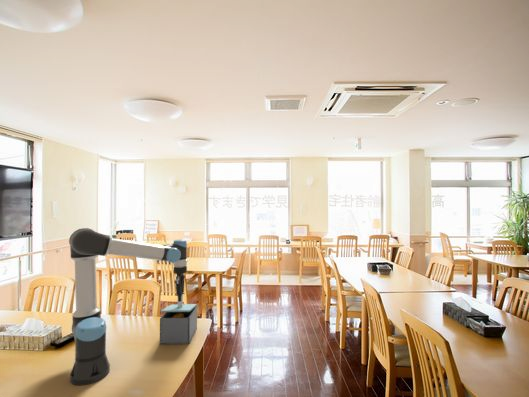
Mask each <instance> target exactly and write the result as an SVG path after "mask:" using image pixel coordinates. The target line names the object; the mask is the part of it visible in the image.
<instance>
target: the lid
mask: <svg viewBox="0 0 529 397" xmlns="http://www.w3.org/2000/svg"><path fill="white" fill-rule="evenodd" d="M196 306H197V307H198V303H185V304H184V303H183V306H182V307H178V303H176V304H173V303H172V304H170V305H168V306H166V307H164V308H163V309H161V310H160V313H165V312H190V311H191V310H192V309H193V308H194V307H196Z"/></svg>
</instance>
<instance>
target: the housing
mask: <svg viewBox="0 0 529 397" xmlns="http://www.w3.org/2000/svg"><path fill="white" fill-rule="evenodd" d="M163 313H164V314H163V315H162V316H161V317H160V318H159V345H160V346H161V345H190V343H191V341H192V340H193V337H194V335H195V334H196V331H197V329H198V305H197V306H196V307H194V308H193V309H192V310H191V311H190V312H163ZM178 313H182V314H183V315H184V317H185V318H172V317H173V316H175V315H176V314H178Z"/></svg>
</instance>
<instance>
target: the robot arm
mask: <svg viewBox="0 0 529 397" xmlns="http://www.w3.org/2000/svg"><path fill="white" fill-rule="evenodd" d="M68 244H69V247H70V248H69V249H70V251H69V252H70V259H71V260H73V261H74V283H75V288H74V289H75V311H74V312H73V313H72V323H71V332H72V334H73V338H74V344H75V346H74V347H75V350H74V352H75V353H74V354H75V355H74V356H75V358H74V360H75V361H74V363H73V366H72V369H71V371H70V376H69V382H70V384H71V385H74V386H86V385H89V384H93V383H96V382H98V381H100V380H102V379H104V378H105V377H106V376H108V374H109V373H110V370H111V368H110V366H111V364H110V361H109V359H108V357H107V353H106V352H107V351H106V350H107V349H106V348H107V347H106V346H107V344H106V343H107V342H106V341H107V337H106V336H107V324H106V320H105V319H104V318H102V315H101V313H102V312H101V311H102V310H101V308H100V307H99V306H98V298H97V297H98V296H97V268H96V267H97V266H96V258H97V257H98V256H102V257H105V256H107V255H113V256H120V257H121V256H122V257H130V258H131V257H132V258H138V259H146V260H156V261H163V262H168V263H173V274H174V275H176V276H175V281H174V282H175V292H176V295H175V296H177V304H178V307H182V306H183V304H184V295H185V278H186V275H185V274H186V273H187V272H188V266H187V265H188V262H189V261H188V257H187V254H188V245H187V244H188V243H187V240H186V239H175V240H173V243H170V244H153V243H147V242H139V241H132V240H129V239H128V240H126V239H121V238H114V237H112V236H111V235H109V234H103V233H100V232H98V231H95V230H94V229H92V228H89V227H83V228H78V229H76V230H75V231H73V233H72V234H71V235H70V237H69V239H68Z"/></svg>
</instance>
